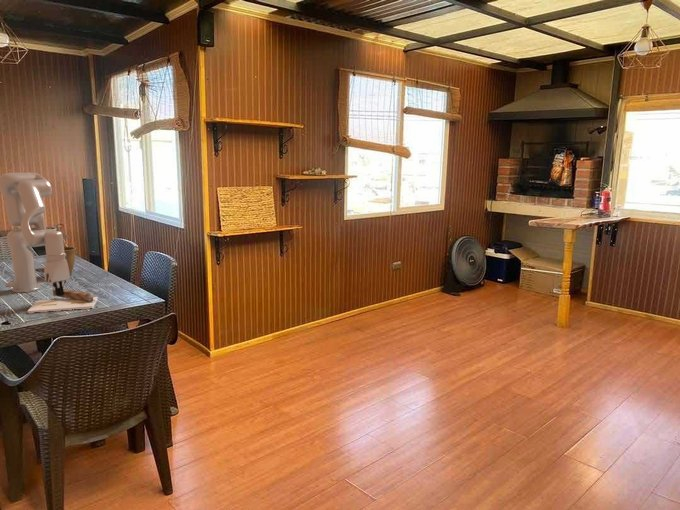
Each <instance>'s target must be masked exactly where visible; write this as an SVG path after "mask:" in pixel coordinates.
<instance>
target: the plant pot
mask: <svg viewBox="0 0 680 510" xmlns="http://www.w3.org/2000/svg"><path fill="white" fill-rule="evenodd" d="M76 250H77V247H75V246H64V253H66V256H65V259H66V260H67V263H68V267H69V273H70V277H71V276H72V272H73V270H74V266H75V261H76Z"/></svg>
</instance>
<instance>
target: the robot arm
mask: <svg viewBox="0 0 680 510" xmlns="http://www.w3.org/2000/svg"><path fill="white" fill-rule="evenodd" d="M0 193H1V194H2V197H3V200H4V205H5V210H6V216H7V221H8V224H9V225H10V226H12V227H20V228H18V229H12V230H11V231H9V232H8V233H7V235H6V240H7V243H8V247H9V250H10V255H11V261H12V269H13V279H14V281H12V282H5V287H6V288H12V289H11V291H12V292H13V293H31V292H35V291H39V290H40V289H42V286H41V285H40V284H38V281H37V272H36V271H37V270H36V265H35V264H36V263H35V256H34V253H33V252H32V251H31V250H30V249H29V248H36V247H37V248H38V247H43V246H44V248H45V257H46V261H45V262H44V272H43V273H44V282H46V283H47V284H46V285H47V286H52V287H53V288H54V289H55V292H56V295H57V296H56V297H59V296H62V295H64V293H63V292H64V291H63V289H64V287H65V284H66V283H68V282H69V281H70V277H71V276H70V273H69V267H68V263H67V260H66V259H65V256H66V253H64V247H65V245H64V243H65V242H64V237H63V236H64V234H63V233H62V232H61V231H60V230H56V229H53V228H50V229H49V228H47V226H46V225H47V224H46V220H45V218H46V217H45V214H44V212H46V205H45V203H44V200H43V197H46V198H47V197H51V196H52V193H53V188H52V184H51V183H50V181H49V180H48V179H46V178H45V177H44V176H42V175H41V174H39V172H30V171H29V172H6V173H1V174H0ZM31 226H32V227H31Z"/></svg>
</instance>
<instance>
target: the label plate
mask: <svg viewBox="0 0 680 510" xmlns="http://www.w3.org/2000/svg"><path fill="white" fill-rule="evenodd" d="M98 299H99V298H98V296H93V301H83V300H77V299H71V298H60V299H59V298H57V299H46V300H36V301H35V302H34V303H33V304H32V305H31V306H30V308H29V309H28V310H27V314H28V313H29V314H35V313H34V312H43V313H48V312H47V311H56V312H62V311H61V310H69V311H75V310H74V309H82V310H91V309H90V308H93V309H94V307H95V306H96V303H97V301H98ZM72 309H73V310H72Z"/></svg>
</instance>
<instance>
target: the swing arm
mask: <svg viewBox="0 0 680 510" xmlns="http://www.w3.org/2000/svg"><path fill="white" fill-rule="evenodd" d="M63 291H64V292H63V293H64V295H62V296H57V295H56V292H55V288H54V289H52V296H54V297H60V298H64V299H77V300H83V301H93V297H94V294H93V292H86V291H78V290H71V289H65V288H63Z"/></svg>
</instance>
